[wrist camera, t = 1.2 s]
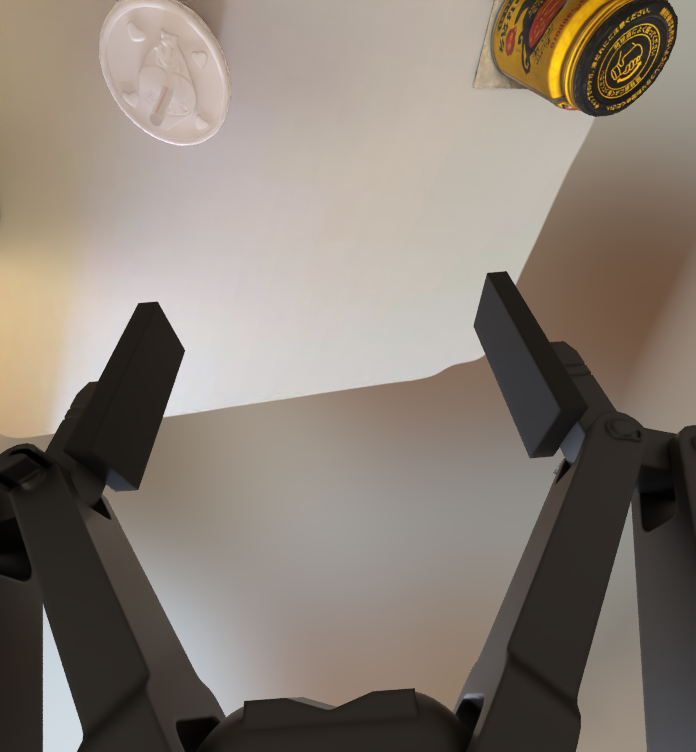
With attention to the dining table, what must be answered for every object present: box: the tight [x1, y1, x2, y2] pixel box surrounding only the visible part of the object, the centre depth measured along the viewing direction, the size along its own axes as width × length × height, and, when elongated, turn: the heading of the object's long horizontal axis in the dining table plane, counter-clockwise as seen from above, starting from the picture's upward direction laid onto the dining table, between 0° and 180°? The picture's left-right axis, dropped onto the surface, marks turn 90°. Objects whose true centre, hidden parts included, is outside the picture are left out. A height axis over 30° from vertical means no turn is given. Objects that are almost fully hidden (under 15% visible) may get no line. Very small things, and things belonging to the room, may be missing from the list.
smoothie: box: [99, 0, 231, 146], centre depth 21 cm, size 6×6×14 cm
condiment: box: [473, 0, 678, 117], centre depth 25 cm, size 7×8×12 cm
